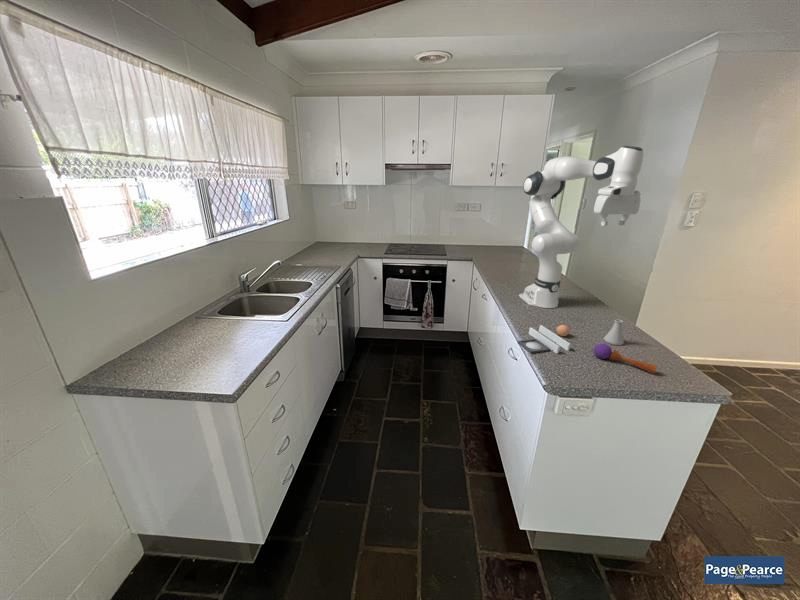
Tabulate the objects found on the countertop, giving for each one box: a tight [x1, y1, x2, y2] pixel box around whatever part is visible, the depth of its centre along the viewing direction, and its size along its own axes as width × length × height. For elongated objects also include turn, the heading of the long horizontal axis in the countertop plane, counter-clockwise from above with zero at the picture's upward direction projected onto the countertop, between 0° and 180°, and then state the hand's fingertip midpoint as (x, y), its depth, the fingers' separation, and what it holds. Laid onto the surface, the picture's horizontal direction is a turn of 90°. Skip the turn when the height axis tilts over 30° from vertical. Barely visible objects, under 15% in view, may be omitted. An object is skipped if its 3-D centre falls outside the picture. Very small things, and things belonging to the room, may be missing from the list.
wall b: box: [528, 327, 561, 354], centre depth 136 cm, size 18×1×3 cm, turn 15°
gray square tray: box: [517, 338, 552, 354], centre depth 133 cm, size 9×9×1 cm
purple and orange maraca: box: [593, 343, 658, 375], centre depth 122 cm, size 6×6×20 cm
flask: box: [602, 318, 625, 346], centre depth 137 cm, size 7×7×10 cm
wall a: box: [538, 324, 572, 352], centre depth 139 cm, size 18×1×3 cm, turn 15°
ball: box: [556, 324, 570, 337], centre depth 143 cm, size 5×5×5 cm
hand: (612, 225), depth 135 cm, fingers open, 8 cm apart
